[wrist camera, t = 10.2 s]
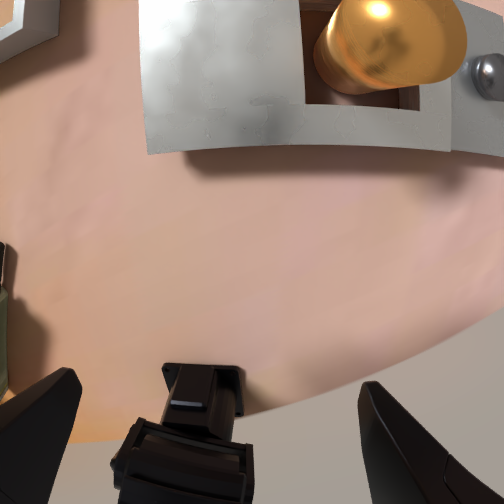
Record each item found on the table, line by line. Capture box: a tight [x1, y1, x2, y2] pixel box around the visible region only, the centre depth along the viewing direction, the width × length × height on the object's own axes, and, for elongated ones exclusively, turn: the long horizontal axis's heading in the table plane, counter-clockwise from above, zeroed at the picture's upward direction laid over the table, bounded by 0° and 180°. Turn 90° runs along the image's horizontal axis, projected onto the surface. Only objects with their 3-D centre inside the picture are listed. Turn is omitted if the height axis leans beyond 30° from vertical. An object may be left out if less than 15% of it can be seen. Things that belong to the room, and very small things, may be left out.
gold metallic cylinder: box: [313, 0, 467, 94], centre depth 11 cm, size 4×4×9 cm
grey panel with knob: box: [139, 0, 504, 157], centre depth 14 cm, size 10×22×3 cm, turn 93°
